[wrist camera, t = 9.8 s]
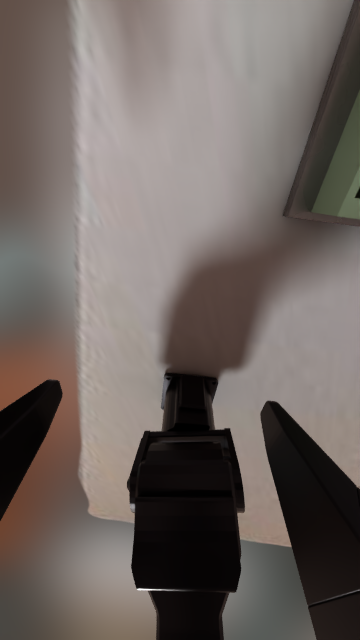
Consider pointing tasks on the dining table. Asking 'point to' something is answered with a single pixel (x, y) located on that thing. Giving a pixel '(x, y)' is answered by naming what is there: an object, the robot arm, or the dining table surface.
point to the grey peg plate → (329, 126)
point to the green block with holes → (343, 173)
